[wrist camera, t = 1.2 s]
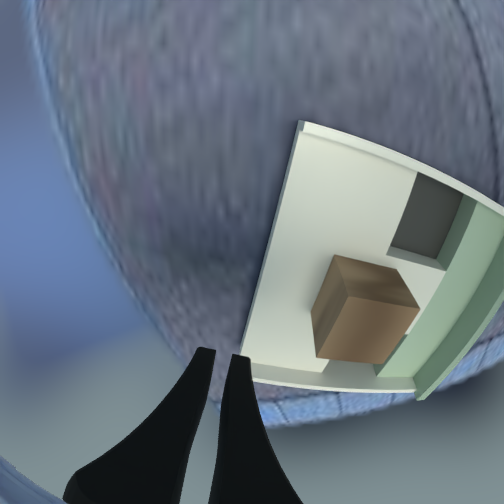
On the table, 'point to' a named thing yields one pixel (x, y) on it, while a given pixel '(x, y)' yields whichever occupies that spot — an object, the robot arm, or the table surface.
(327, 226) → the board
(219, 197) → the table surface
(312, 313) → the walnut block
